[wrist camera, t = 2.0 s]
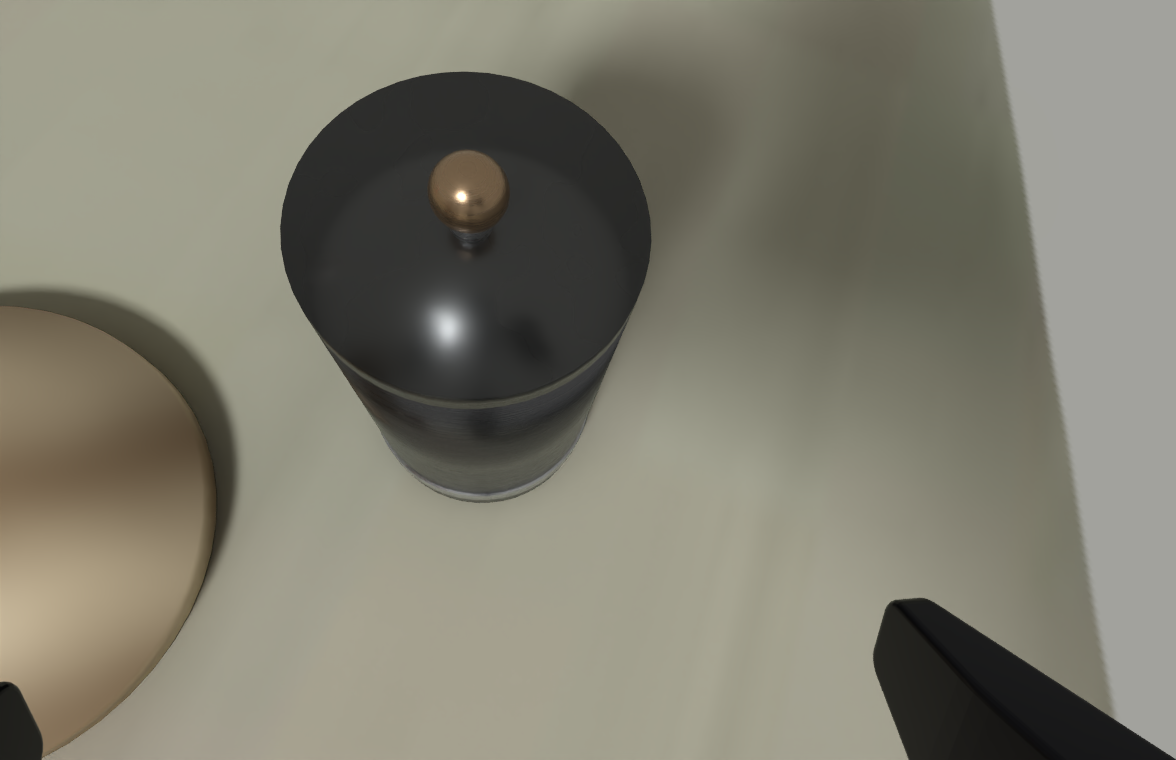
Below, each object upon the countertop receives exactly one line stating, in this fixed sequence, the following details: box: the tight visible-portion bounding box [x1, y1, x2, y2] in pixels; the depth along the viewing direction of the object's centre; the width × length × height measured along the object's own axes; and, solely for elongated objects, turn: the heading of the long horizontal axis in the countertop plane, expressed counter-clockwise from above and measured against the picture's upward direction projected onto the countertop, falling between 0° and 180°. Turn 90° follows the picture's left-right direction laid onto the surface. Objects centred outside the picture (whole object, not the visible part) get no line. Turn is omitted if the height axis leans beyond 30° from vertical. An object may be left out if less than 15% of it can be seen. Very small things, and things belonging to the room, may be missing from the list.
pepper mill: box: [280, 72, 651, 503], centre depth 16 cm, size 8×6×12 cm
